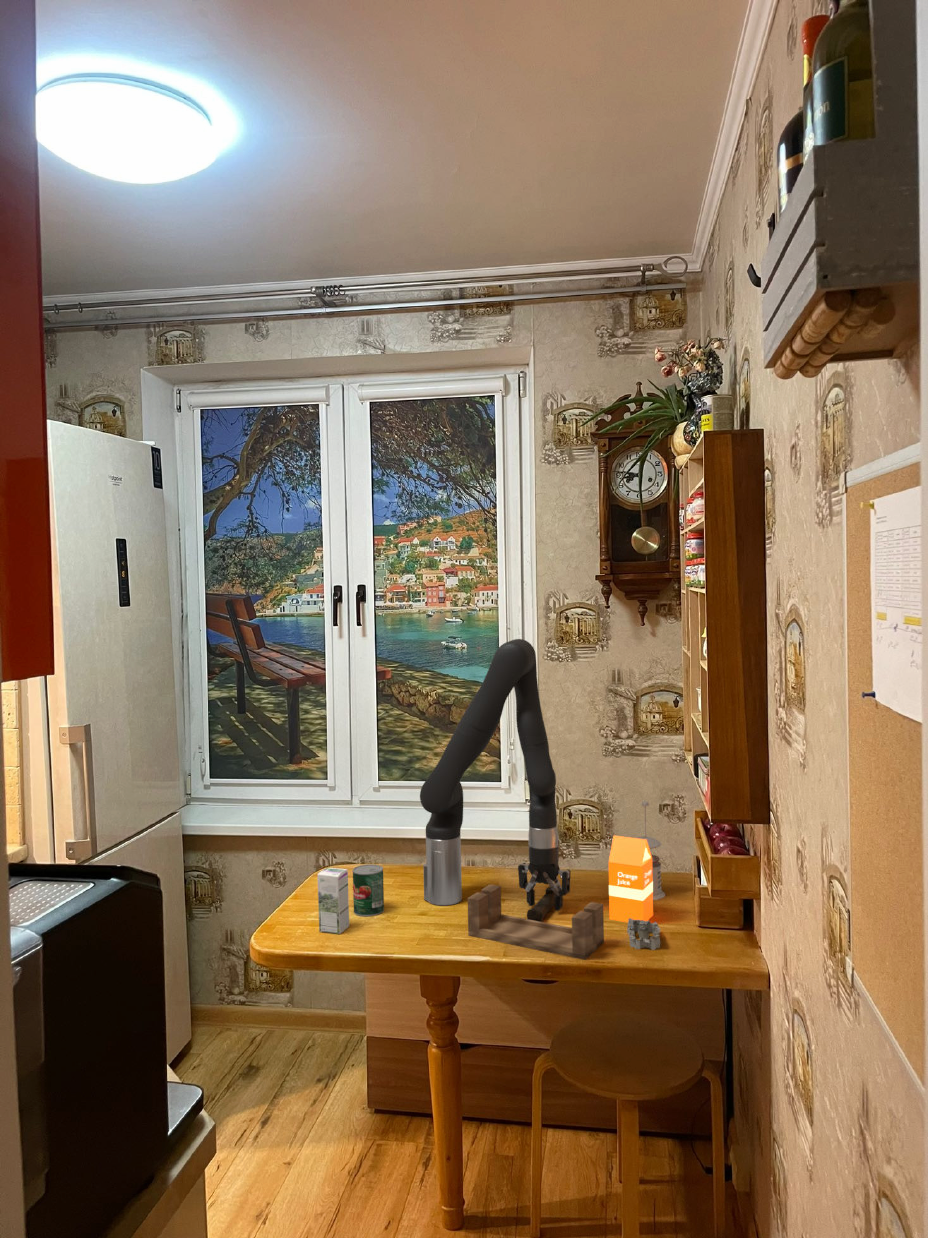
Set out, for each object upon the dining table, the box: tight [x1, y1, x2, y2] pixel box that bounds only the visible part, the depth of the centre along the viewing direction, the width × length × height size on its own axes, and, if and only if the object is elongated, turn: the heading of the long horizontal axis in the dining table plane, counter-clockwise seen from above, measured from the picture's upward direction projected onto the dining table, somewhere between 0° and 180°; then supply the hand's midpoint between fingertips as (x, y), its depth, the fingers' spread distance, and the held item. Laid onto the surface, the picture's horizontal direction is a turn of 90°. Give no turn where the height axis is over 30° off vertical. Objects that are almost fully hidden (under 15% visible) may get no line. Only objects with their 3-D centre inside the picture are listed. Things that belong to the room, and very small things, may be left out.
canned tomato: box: [352, 863, 385, 918], centre depth 232 cm, size 8×8×11 cm
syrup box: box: [316, 867, 350, 935], centre depth 220 cm, size 6×6×14 cm
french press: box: [637, 800, 666, 901], centre depth 239 cm, size 10×12×25 cm
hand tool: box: [526, 886, 556, 922], centre depth 229 cm, size 19×4×5 cm, turn 155°
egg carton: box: [626, 918, 661, 951], centre depth 209 cm, size 11×8×4 cm
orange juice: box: [608, 835, 654, 923], centre depth 223 cm, size 8×9×20 cm
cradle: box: [467, 884, 605, 961], centre depth 211 cm, size 30×11×9 cm, turn 59°
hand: (544, 907), depth 229 cm, fingers open, 7 cm apart
